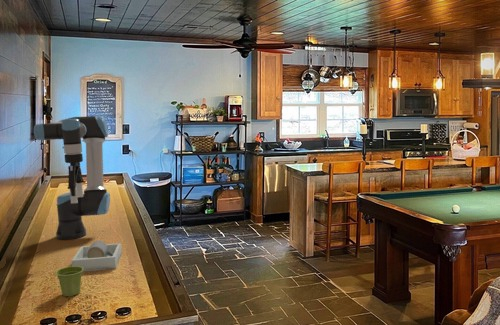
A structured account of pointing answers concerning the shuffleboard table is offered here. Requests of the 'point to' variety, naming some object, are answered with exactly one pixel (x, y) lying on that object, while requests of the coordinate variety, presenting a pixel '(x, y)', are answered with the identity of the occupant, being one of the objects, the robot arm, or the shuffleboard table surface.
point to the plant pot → (70, 280)
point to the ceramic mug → (98, 250)
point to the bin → (97, 259)
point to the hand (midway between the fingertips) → (77, 200)
